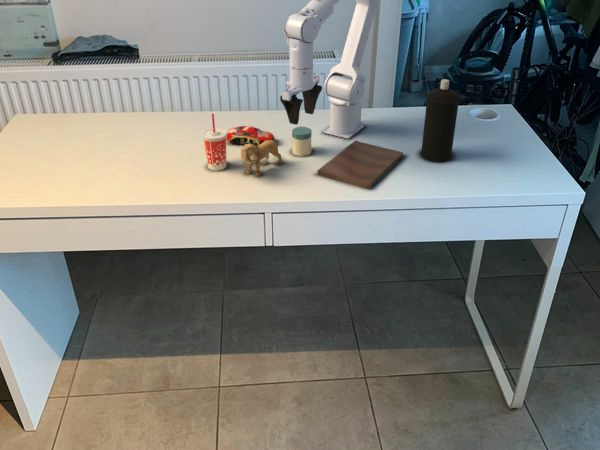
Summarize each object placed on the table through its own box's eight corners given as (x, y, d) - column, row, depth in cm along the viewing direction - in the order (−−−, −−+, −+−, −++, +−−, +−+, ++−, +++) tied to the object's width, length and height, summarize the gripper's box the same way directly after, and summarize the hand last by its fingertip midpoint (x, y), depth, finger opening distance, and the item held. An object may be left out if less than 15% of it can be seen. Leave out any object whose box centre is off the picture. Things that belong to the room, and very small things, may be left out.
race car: (277, 140, 168) (276, 126, 166) (271, 148, 164) (271, 134, 161) (231, 135, 171) (230, 122, 168) (224, 143, 166) (223, 130, 164)
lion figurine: (255, 184, 147) (253, 149, 142) (236, 178, 149) (234, 145, 144) (286, 159, 158) (285, 127, 153) (268, 155, 160) (267, 123, 155)
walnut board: (354, 144, 165) (355, 140, 165) (403, 156, 159) (403, 152, 158) (317, 174, 151) (317, 170, 150) (368, 189, 145) (369, 184, 144)
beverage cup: (233, 162, 157) (229, 111, 149) (222, 173, 152) (218, 120, 144) (211, 159, 158) (207, 107, 151) (200, 169, 154) (195, 117, 146)
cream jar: (298, 146, 165) (298, 125, 161) (315, 150, 162) (315, 129, 159) (288, 153, 161) (288, 132, 158) (305, 157, 159) (305, 136, 156)
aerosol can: (452, 163, 155) (463, 87, 145) (419, 161, 157) (427, 85, 146) (452, 149, 162) (462, 76, 151) (420, 147, 164) (428, 74, 153)
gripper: (302, 55, 156) (303, 106, 164) (271, 71, 146) (272, 124, 153) (327, 59, 153) (326, 111, 160) (296, 76, 143) (296, 130, 150)
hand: (301, 118), depth 157 cm, fingers open, 7 cm apart
